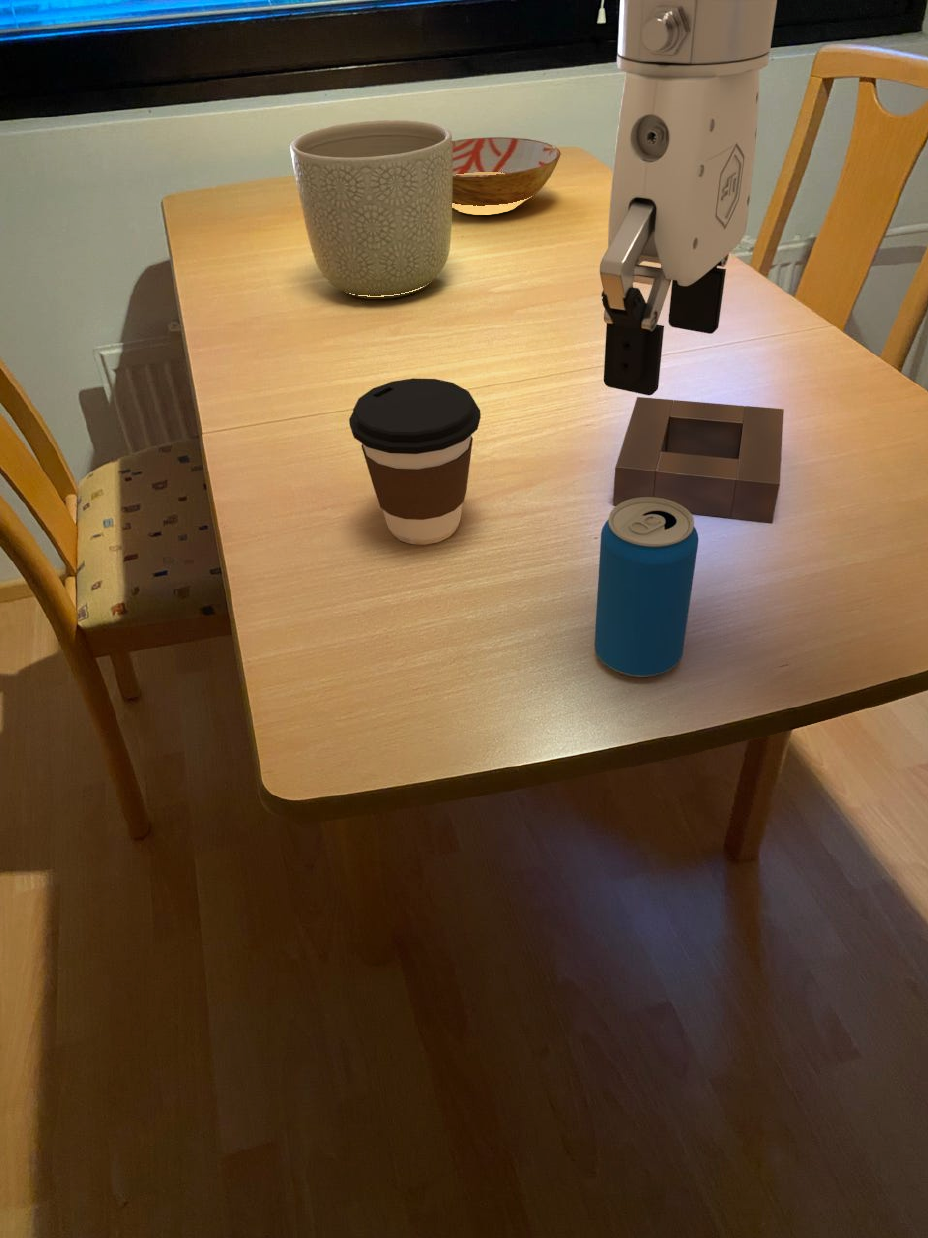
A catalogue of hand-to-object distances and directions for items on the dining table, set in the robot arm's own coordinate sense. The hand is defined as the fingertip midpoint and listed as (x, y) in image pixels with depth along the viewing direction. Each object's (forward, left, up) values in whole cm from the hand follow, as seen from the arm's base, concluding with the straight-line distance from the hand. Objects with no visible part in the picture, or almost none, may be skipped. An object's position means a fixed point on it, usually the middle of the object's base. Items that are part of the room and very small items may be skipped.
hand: (663, 357), depth 57 cm
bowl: (+41, -106, -22) cm, 116 cm away
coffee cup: (+21, -11, -22) cm, 32 cm away
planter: (+45, -68, -22) cm, 84 cm away
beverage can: (0, +2, -22) cm, 23 cm away
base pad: (-2, -25, -22) cm, 33 cm away
